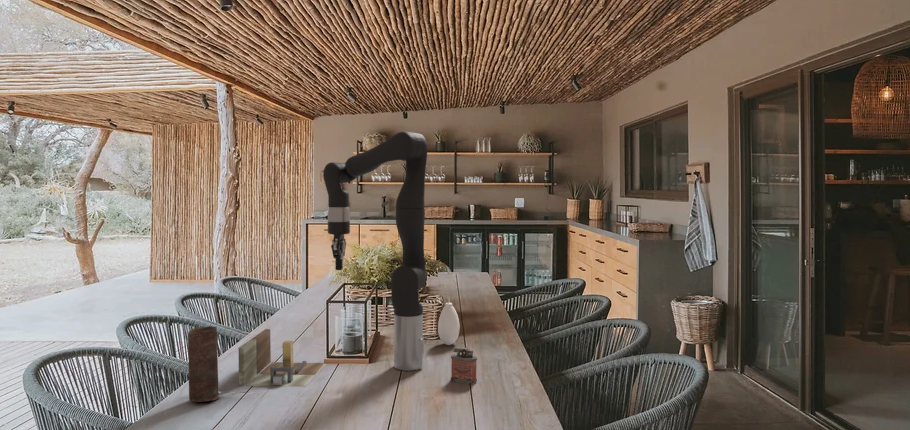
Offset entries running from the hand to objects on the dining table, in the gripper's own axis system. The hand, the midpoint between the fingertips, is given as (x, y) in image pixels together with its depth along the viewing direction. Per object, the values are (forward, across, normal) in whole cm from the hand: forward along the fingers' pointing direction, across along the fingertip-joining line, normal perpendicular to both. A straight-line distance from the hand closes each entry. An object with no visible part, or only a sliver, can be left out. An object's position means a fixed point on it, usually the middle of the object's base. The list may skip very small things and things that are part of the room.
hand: (339, 269), depth 203 cm
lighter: (+29, -29, -44) cm, 60 cm away
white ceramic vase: (+29, +11, -38) cm, 49 cm away
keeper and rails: (+28, -27, +9) cm, 40 cm away
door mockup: (+29, -28, +10) cm, 41 cm away
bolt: (+28, -34, +9) cm, 44 cm away
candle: (+29, -48, +26) cm, 62 cm away
